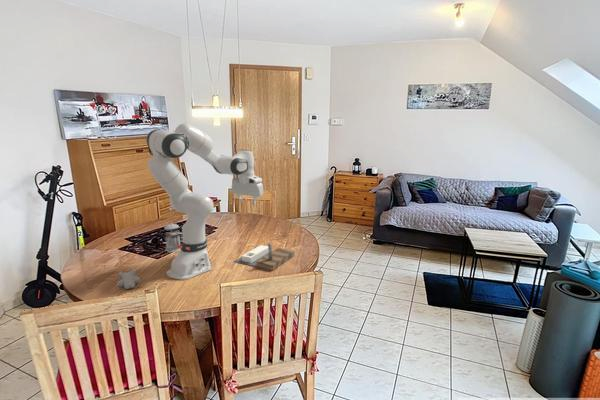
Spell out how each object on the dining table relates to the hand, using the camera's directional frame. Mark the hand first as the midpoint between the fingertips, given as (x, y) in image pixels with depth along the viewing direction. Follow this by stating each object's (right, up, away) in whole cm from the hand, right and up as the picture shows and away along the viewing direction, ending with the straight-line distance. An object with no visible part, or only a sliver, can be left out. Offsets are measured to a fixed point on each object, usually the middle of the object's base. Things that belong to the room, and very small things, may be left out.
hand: (247, 202), depth 194 cm
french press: (-44, -28, +7) cm, 52 cm away
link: (+5, -30, -5) cm, 30 cm away
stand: (+17, -31, -10) cm, 37 cm away
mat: (+5, -30, -5) cm, 31 cm away
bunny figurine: (-50, -38, -35) cm, 71 cm away
